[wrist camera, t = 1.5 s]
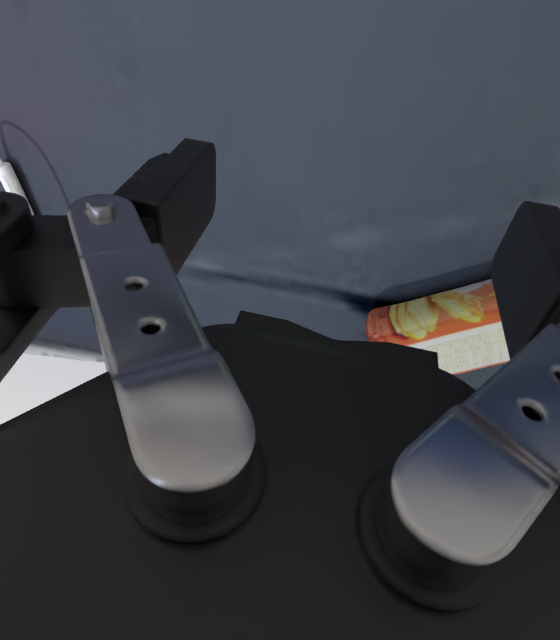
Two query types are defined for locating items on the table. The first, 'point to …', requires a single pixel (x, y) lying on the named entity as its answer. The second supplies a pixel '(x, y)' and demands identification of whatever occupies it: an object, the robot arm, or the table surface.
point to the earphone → (11, 181)
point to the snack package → (446, 327)
